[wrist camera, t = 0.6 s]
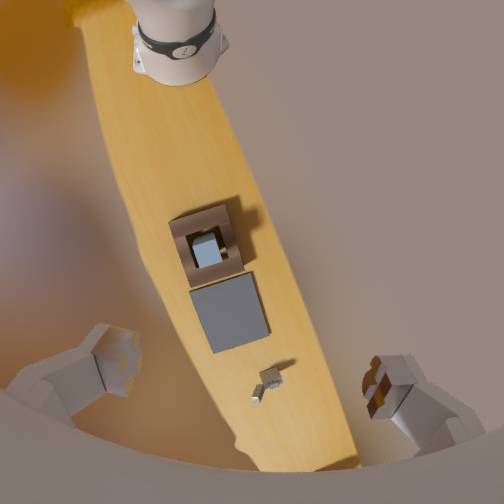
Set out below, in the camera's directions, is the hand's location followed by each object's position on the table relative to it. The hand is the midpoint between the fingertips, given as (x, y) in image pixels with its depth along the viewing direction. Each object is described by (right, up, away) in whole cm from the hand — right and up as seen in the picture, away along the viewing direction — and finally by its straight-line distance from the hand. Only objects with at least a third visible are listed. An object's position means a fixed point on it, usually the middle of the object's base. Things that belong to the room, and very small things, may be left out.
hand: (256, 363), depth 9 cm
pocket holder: (-8, +5, +42) cm, 43 cm away
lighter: (+2, -23, +49) cm, 55 cm away
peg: (-8, +5, +42) cm, 43 cm away
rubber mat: (-4, -8, +45) cm, 46 cm away
